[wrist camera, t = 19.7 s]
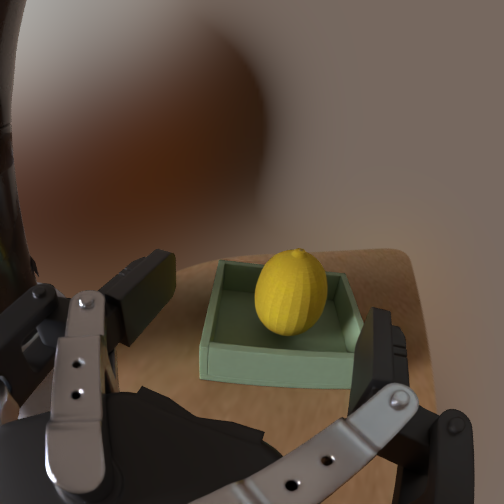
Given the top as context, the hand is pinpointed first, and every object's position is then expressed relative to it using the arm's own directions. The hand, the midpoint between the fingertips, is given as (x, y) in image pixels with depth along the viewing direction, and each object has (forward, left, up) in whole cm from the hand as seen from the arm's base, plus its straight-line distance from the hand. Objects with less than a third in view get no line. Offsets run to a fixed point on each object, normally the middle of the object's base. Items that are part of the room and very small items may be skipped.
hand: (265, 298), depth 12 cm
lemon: (+3, +10, -11) cm, 15 cm away
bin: (+3, +10, -12) cm, 16 cm away
